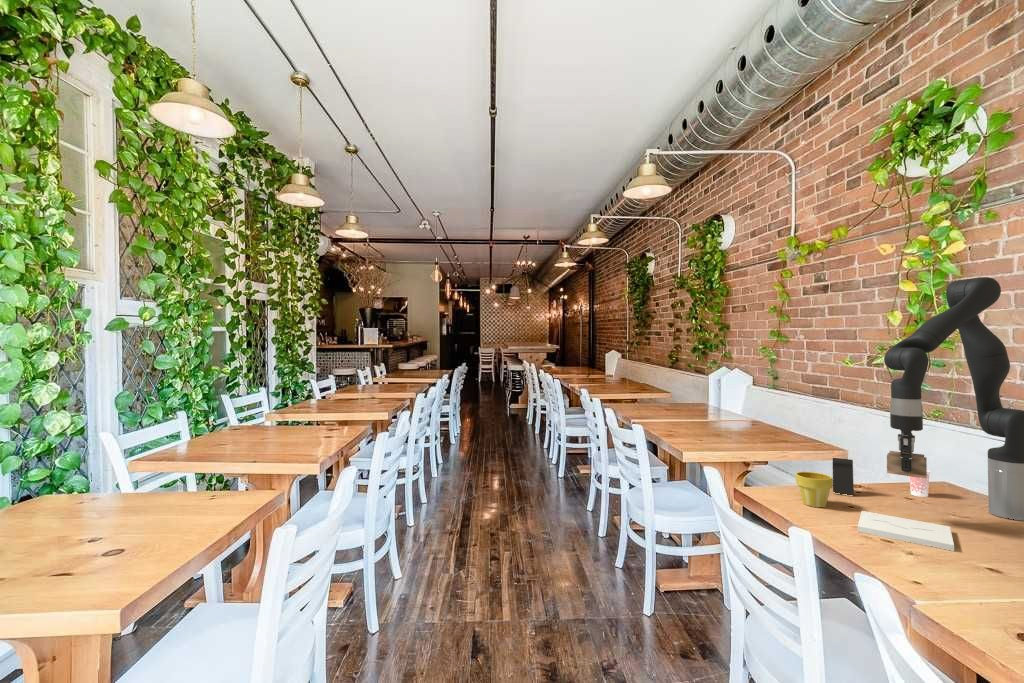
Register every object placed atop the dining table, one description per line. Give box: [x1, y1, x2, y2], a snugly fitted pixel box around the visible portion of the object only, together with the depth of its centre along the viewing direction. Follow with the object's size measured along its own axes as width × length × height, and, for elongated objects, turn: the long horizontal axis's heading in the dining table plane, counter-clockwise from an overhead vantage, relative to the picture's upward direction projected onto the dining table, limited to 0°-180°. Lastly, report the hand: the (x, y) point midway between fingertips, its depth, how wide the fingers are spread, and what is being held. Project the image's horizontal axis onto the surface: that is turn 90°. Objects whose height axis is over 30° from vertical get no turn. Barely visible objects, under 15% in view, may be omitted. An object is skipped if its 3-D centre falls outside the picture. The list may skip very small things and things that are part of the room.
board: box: [857, 510, 955, 552], centre depth 132 cm, size 20×16×2 cm
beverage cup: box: [908, 469, 931, 498], centre depth 164 cm, size 6×6×14 cm
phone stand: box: [832, 457, 855, 496], centre depth 168 cm, size 9×6×12 cm, turn 146°
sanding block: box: [886, 450, 928, 479], centre depth 140 cm, size 9×6×6 cm, turn 48°
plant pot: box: [795, 471, 833, 508], centre depth 155 cm, size 10×10×10 cm
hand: (906, 469), depth 140 cm, fingers closed on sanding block, 5 cm apart
